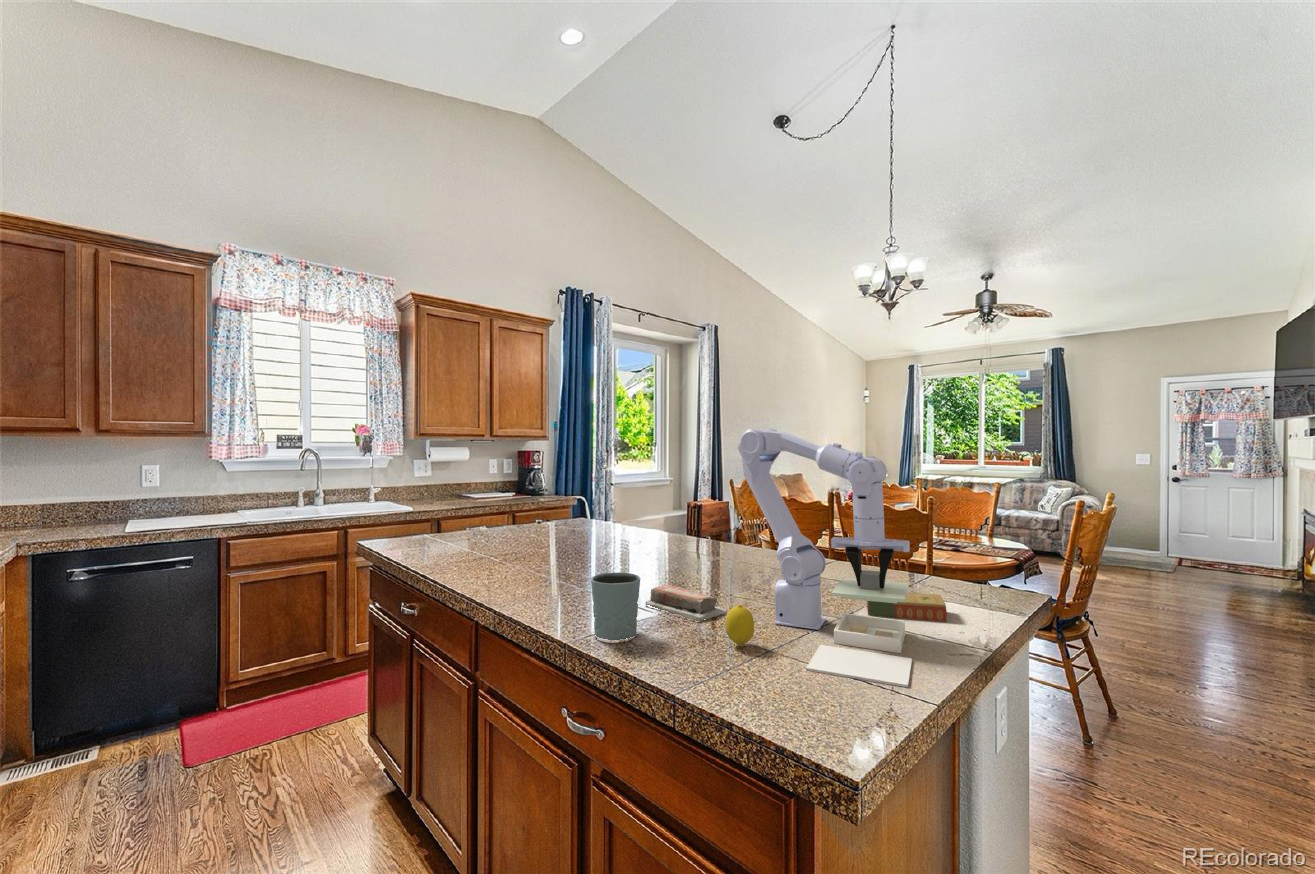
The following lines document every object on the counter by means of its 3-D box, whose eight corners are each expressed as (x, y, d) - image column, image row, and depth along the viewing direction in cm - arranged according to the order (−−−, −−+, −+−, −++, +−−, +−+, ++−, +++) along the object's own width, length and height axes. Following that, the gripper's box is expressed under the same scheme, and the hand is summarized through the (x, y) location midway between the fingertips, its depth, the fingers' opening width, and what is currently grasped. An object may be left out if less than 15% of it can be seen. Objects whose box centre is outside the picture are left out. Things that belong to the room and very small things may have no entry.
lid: (831, 599, 107) (830, 576, 107) (842, 583, 119) (842, 563, 119) (904, 606, 101) (904, 582, 101) (909, 589, 113) (908, 568, 113)
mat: (806, 669, 95) (806, 667, 95) (820, 646, 106) (820, 644, 106) (907, 687, 88) (907, 684, 88) (912, 660, 98) (912, 658, 98)
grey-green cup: (581, 636, 114) (581, 578, 114) (617, 624, 121) (616, 569, 121) (615, 648, 107) (614, 586, 107) (651, 634, 114) (650, 576, 115)
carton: (947, 624, 119) (946, 604, 119) (867, 617, 124) (867, 598, 124) (941, 612, 127) (941, 593, 127) (866, 606, 132) (866, 588, 132)
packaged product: (643, 588, 134) (672, 580, 141) (643, 608, 134) (672, 599, 141) (698, 602, 121) (727, 593, 128) (699, 624, 121) (727, 614, 128)
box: (833, 643, 108) (833, 630, 108) (843, 624, 118) (843, 613, 118) (901, 653, 102) (900, 639, 102) (905, 632, 113) (905, 620, 113)
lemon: (756, 642, 109) (755, 601, 109) (752, 652, 104) (751, 609, 104) (729, 639, 111) (728, 599, 111) (723, 649, 105) (722, 607, 105)
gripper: (827, 518, 110) (829, 587, 110) (906, 521, 103) (909, 594, 103) (833, 514, 116) (836, 579, 116) (909, 516, 110) (911, 585, 109)
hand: (871, 585), depth 110 cm, fingers closed on lid, 3 cm apart
